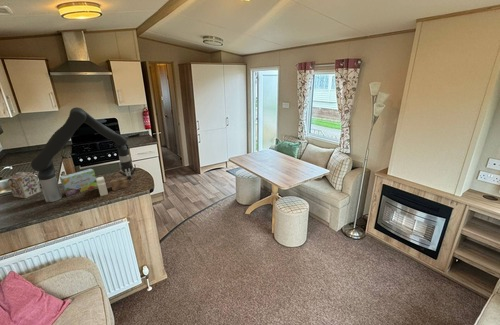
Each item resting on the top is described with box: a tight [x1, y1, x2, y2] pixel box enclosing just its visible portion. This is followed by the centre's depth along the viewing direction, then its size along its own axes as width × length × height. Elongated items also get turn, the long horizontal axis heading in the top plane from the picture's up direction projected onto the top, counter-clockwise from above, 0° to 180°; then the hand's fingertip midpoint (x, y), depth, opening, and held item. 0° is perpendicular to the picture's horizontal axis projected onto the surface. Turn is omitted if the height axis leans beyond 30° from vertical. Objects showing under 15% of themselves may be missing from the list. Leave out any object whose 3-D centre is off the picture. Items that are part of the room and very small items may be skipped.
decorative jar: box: [7, 171, 42, 199], centre depth 176 cm, size 12×12×18 cm
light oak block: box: [109, 177, 130, 191], centre depth 190 cm, size 12×8×6 cm, turn 126°
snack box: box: [59, 168, 98, 197], centre depth 182 cm, size 21×6×15 cm, turn 143°
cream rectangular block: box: [96, 176, 109, 197], centre depth 182 cm, size 5×16×9 cm, turn 35°
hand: (129, 179), depth 194 cm, fingers closed
